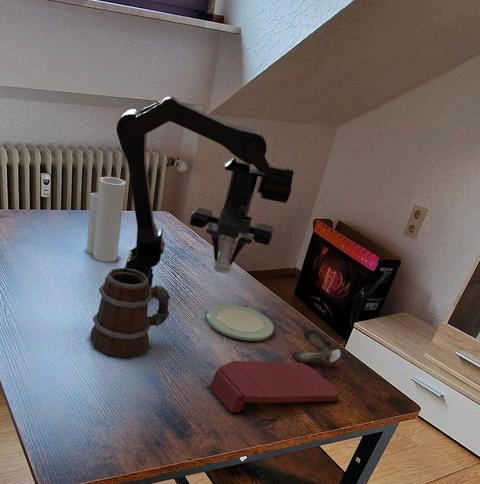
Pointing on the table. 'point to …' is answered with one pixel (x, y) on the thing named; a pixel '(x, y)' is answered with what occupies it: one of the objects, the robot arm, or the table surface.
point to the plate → (240, 322)
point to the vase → (105, 219)
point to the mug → (126, 313)
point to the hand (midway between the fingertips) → (223, 261)
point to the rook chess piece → (224, 256)
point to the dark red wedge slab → (269, 384)
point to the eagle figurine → (321, 344)
